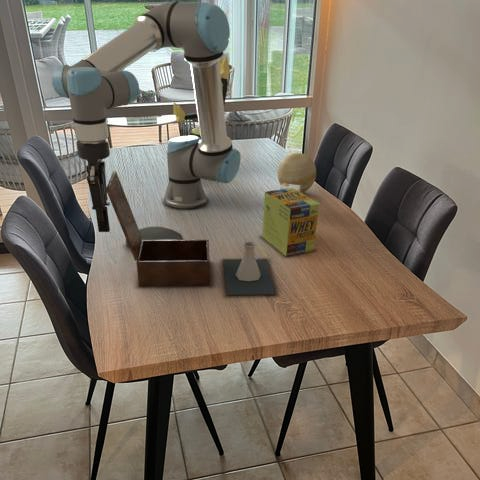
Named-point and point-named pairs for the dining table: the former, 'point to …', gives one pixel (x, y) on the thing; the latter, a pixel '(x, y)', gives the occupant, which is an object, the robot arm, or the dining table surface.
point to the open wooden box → (173, 263)
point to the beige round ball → (297, 171)
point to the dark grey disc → (158, 234)
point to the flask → (248, 264)
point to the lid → (124, 214)
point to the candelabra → (182, 116)
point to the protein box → (290, 221)
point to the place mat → (247, 287)
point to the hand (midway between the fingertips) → (104, 230)
